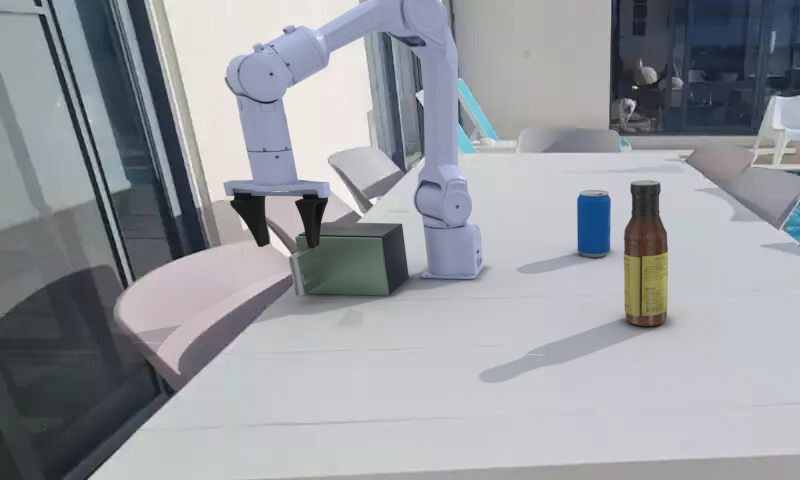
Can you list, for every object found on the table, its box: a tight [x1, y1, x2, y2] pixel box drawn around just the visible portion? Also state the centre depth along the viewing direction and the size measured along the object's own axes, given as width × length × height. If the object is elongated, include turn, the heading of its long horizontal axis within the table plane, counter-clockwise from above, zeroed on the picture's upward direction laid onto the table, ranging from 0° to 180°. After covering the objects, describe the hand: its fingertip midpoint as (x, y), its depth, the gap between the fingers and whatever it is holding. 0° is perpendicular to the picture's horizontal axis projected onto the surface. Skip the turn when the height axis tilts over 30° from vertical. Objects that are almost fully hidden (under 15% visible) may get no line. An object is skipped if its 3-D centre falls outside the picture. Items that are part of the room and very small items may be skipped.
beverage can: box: [576, 189, 612, 258], centre depth 124 cm, size 6×6×12 cm
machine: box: [297, 221, 410, 295], centre depth 106 cm, size 9×14×10 cm, turn 86°
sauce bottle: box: [623, 179, 669, 327], centre depth 89 cm, size 6×6×20 cm
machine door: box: [287, 235, 391, 297], centre depth 99 cm, size 6×14×9 cm, turn 86°
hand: (289, 245), depth 94 cm, fingers open, 7 cm apart
